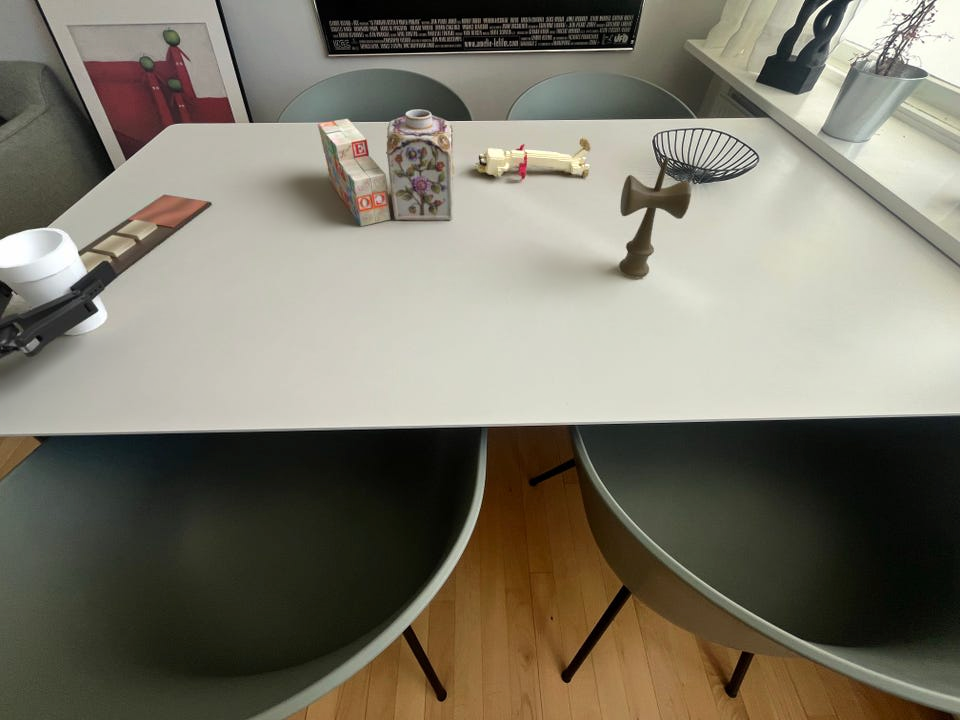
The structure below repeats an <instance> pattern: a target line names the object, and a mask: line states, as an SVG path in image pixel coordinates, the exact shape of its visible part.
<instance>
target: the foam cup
mask: <svg viewBox="0 0 960 720" xmlns="http://www.w3.org/2000/svg"><path fill="white" fill-rule="evenodd" d="M78 251H79V250H78V247H77V245H76V244H75V242H74V241H73V240H72V238H71V237H70V235H69V234H68V233H67V232H66V231H63V230H62V229H61V228H52V227H40V228H33V229H26V230H23V231H20V232H16V233H13V234H10V235H7V236H6V237H4V238H1V239H0V280H1V281H2V282H5V283H6V284H7V285H8V286H9V287H10V288H11V289H12V290H14V291H15V292H16V293H17V294H18V295H17V296H19V297H20V298H21V299H22V300H24V302H26V303H27V304H28V305H29V306H30V307H31V308H32V309H34V308H36V307H38V306H41V305H43V304H45V303H47V302H50V301H52V300H54V299H56V298H59V297H61V296H63V295H65V294H68V293H70V292H72V291H71V289H70V287H71V286H72V285H74V284H75V283H76V282H77V281H79V280H80V279H81V278H82V277H84V276H85V275H86V274H87V273H88V272H87V270H86V268H85V266H84V264H83V262H82V260H81V258H80V256H79V254H78ZM92 301H93V303H94V304H95V305H96V307H97V308H98V309H99V311H98V312H97V313H95V314H94V315H92V316H91V317H89V318H87V319H86V320H84V321H83V322H81V323H80V324H78V325H77V326H75V327H73V328H72V329H70V330H69V331H67V332H66V333H64V334H63V335H64V336H78V335H85V334H87V333H89V332H92V331H95V330H96V329H97V328H99V327H100V326H102V325H103V324H104V323H105V322H106V320H107V319H108V312H107V310H106V307H105V305H104V303H103V301H102V299H101V297H100V295H97V296H96V297H95V298H94V299H93V300H92Z"/></svg>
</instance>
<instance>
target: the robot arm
mask: <svg viewBox="0 0 960 720" xmlns="http://www.w3.org/2000/svg"><path fill="white" fill-rule="evenodd" d="M117 278H119V276H118V275H117V274H116V272H115V271H114V269H113V268H112V266H111V265H110V263H109V262H108V261H102V262H101V263H100V264H99V265H97V266H96V267H95V268H94V269H92V270H91V271H90V272H89V273H87V274H86V275H85V276H84V277H82V278H81V279H80V280H79V281H77V282H76V283H75V284H74V285H72V286H71V287H70V289H71V291H72V292H70V293H68V294H65V295H63V296H61V297H59V298H56V299H54V300H52V301H50V302H47V303H45V304H43V305H41V306H38V307H36V308H31V309H30V310H27V311H25V312H22V313H17V312H16V313H15V312H14V313H10V314H9V315H7V316H4V317H3V315H4V313H5V312H6V310H7V308H8V306H9V304H10V302H11V301H12V298H13V297H14V294H15V295H16V296H19V295H18V294H17V293H16V292H15V291H14V290H12V289H11V288H10V287H9V286H8V285H7V284H6V283H5V282H2V281H1V280H0V360H1V359H3V358H5V357H7V356H9V355H11V354H12V353H14V352H20V353H21V352H22V353H23V354H24V355H25V356H26V358H32V357H35V356H37V355H38V354H39V353H40V352H41V351H42V350H43V349H44V348H45V347H46V346H47V345H49V344H50V343H51V342H53V341H55V340H56V339H58V338H60V337H61V336H63V335H64V333H66V332H67V331H69V330H70V329H72V328H73V327H75V326H77V325H78V324H80V323H81V322H83V321H84V320H86V319H87V318H89V317H91V316H92V315H94V314H95V313H97V312H98V311H99V309H98V308H97V307H96V305H95V304H94V303H93V301H92V300H93V299H94V298H95V297H96V296H97V295H99V294H102V293H103V292H104V291H105V289H106V288H107V287H108V286H109V285H110V284H112V283H113V282H114V281H115V280H116V279H117ZM13 293H14V294H13ZM99 296H100V295H99ZM16 324H18V326H19V327H20V328H21V329H22V330H23V331H21V330H20V329H19V328H18V326H17V325H16Z"/></svg>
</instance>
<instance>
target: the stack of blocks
mask: <svg viewBox="0 0 960 720" xmlns="http://www.w3.org/2000/svg"><path fill="white" fill-rule="evenodd" d="M317 128H318V131H319V136H320V139H321V140H320V141H321V144H322V149H323V153H324V156H325V161H326V164H327V172H328V174H329V179H330V182H331V184H332V185H333V187H334V189H335V191H336V192H337V193H338V195H339V196H340V198H341V199H342V200H343V202H344V203H345V205H346V206H347V207H348V209H349V210H350V212H351V214H352V216H353V217H354V219H355V220H356V221H357V223H358V224H359V225H360V227H365V226H369V225H372V224H375V223H381V222H385V221H388V220H391V211H390V206H389V205H390V203H389V195H388V182H387V174H386V173H385V172H384V171H383V169H382V168H380V166H379V164H377V162H376V161H375V160H374V159H373V158H372V157H371V156H370V152H369V146H368V140H367V138H366V137H364V135H363V134H362V133H361V132H360V131H359V130H358V129H357V128H356V126H354V125H353V122H352V121H350V120H349V118H344V119H343V118H342V119H337V120H331V121H325V122H319V123H317Z"/></svg>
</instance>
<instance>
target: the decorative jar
mask: <svg viewBox="0 0 960 720" xmlns="http://www.w3.org/2000/svg"><path fill="white" fill-rule="evenodd" d="M386 129H387V134H386V139H387V141H386V152H385V153H386V158H387V166H388V176H389V184H390V185H389V186H390V193H391V194H390V195H391V202H392V209H393V216H394V220H395V221H452V220H453V219H454V218H453V217H454V214H453V213H454V173H455V172H454V170H455V166H454V155H453V153H454V152H453V143H454V142H453V141H454V137H453V132H454V130H453V125H452V123H451V122H450V121H448V120H446V119H444V118H442V117H438V116H437V115H432V112H430V111H429V110H427V109H419V108H418V109H410V110H408V111H405V115H404V116H401V117H397V118H395V119H392V120H390V121H389V124H388V126H387V128H386Z"/></svg>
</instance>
